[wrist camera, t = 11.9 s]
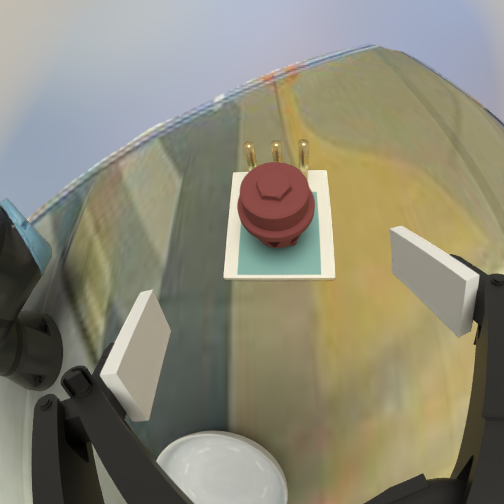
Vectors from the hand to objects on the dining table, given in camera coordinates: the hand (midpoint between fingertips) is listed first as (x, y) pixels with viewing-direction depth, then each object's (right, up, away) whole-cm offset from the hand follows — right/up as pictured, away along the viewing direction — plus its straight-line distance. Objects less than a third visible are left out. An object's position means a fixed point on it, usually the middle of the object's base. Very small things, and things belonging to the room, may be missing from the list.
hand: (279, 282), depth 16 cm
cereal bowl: (-5, -30, +18) cm, 35 cm away
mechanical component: (+3, +5, +31) cm, 31 cm away
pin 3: (+7, +14, +34) cm, 37 cm away
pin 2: (+3, +13, +34) cm, 37 cm away
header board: (+3, +6, +32) cm, 33 cm away
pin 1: (-1, +13, +35) cm, 37 cm away
